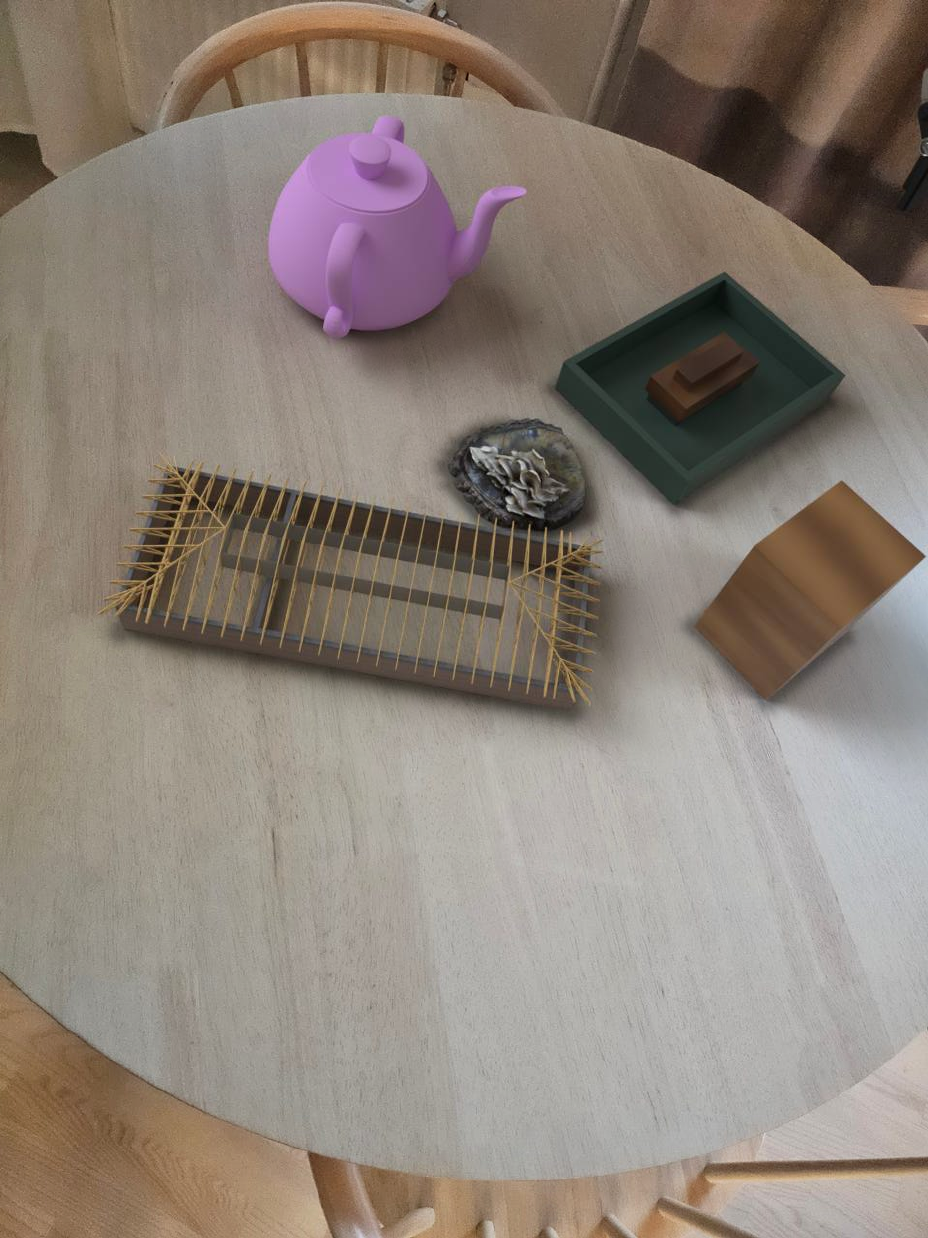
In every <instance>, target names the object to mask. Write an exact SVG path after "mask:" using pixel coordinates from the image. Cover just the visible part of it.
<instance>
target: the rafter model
mask: <svg viewBox="0 0 928 1238" xmlns="http://www.w3.org/2000/svg"><path fill="white" fill-rule="evenodd" d="M158 455H159V457H160V459H162V461H163V462H164V464H165V465H166V467H164V466H161V465H158V464H156V463H153V467H155V468H157V469H158V470H160V471H161V472H163V476H162V478H148V479H147V481H148V482H149V483H152V484H158V485H159V487H158V489H157V492H156V494H143V495H141V497H142V499H147V500H152V501H153V503H152V506H151V507H150V511H147V510H145V511H135V515H138V516H145V517H147V519H146V521H145V524H144V527H136V528H135V527H130V528H129V531H130V532H133V533H139V534H141V535H140V539H139V541H138V543H137V544H133V545H131V544H128V545H127V544H126V545H122V547H123V549H128V550H132V551H134V553H133V557H132V559H131V561H130V562H116V566H119V567H125V568H128V570H127V572H126V576H125V578H124V580H109V583H110V584H113V585H119V586H121V588H120V592H118V593H115V594H112V595H110V596H107V597H104V598H102V600H103V602H107V601H108V602H109V601H112V600H115V601H113V602H111V603H110V604H109V605H107V606H106V607H104V608H103V609H102V610H100V611H98V612H97V615H98V616H100V615H102V614H104V613H107V612H108V611H110V610H112V609H114V608H115V610H116V613H115V614H114V615H113V618H114V619H117V617H118V618H119V621H120V624H121V626H122V629H124V630H129V631H134V632H140V633H145V634H151V635H156V636H160V637H161V636H162V637H167V638H171V639H172V638H173V639H177V640H183V641H189V642H195V643H199V644H206V645H210V646H216V647H222V648H227V649H232V650H237V651H243V652H248V653H254V654H258V655H259V654H260V655H266V656H271V657H275V658H282V659H285V660H286V659H287V660H292V661H297V662H303V663H307V664H313V665H319V666H325V667H330V668H335V669H341V670H346V671H353V672H358V673H363V674H369V675H373V676H379V677H384V678H390V679H394V680H395V679H396V680H401V681H406V682H412V683H417V684H423V685H428V686H434V687H438V688H445V689H450V690H456V691H461V692H467V693H471V694H477V695H482V696H487V697H488V696H489V697H494V698H498V699H504V700H508V701H509V700H510V701H515V702H521V703H527V704H532V705H535V706H536V705H537V706H542V707H548V708H552V709H558V710H565V711H570V709H571V707H572V705H573V704H575V703H576V699H577V697H578V695H580V696H581V697H582V699H583V700H584V701H585V702H586V704H588V706H590V707H591V705H592V703H591V702H590V700H589V698H588V697H587V696H586V694H585V693H584V691H583V690H582V688H581V687H583V688H584V689H586V690H588V691H590V692H592V691H593V688H592V687H590V686H589V685H588V684H587V683H586V682H585V681H584V680H582V678H581V675H582V674H581V673H582V672H586V673H589V674H590V673H591V674H593V673H594V672H595V671H594V670H592V669H590V668H588V667H585V666H583V665H582V661H583V653H584V654H589V655H593V656H594V655H596V652H595V651H592V650H590V649H587V648H585V647H584V640H585V639H584V638H585V636H589V637H595V638H596V637H597V633H593V632H591V631H588V630H586V629H585V627H586V618H589V619H592V620H593V619H594V620H598V618H599V617H598V616H596V615H595V614H591V613H589V612H587V605H588V604H587V603H588V601H591V602H596V603H599V602H600V599H598V598H596V597H593V596H591V595H589V594H588V593H589V592H588V591H589V590H588V589H589V584H591V585H595V586H596V585H597V586H600V585H601V582H599V581H596V580H595V579H592V578H590V569H591V568H594V569H602V568H603V566H601V565H599V564H597V563H595V562H592V561H591V557H592V556H593V555H597V554H603V552H604V550H602V549H601V550H600V549H599V550H594V549H593V550H592V548H593V547H595V546H597V545H599V544H600V543H602V542H603V541H604V540H605V539H604V538H601V539H599V540H597V541H594V542H592V543H590V544H588V545H585V544H586V543H587V541H588V540H589V539H590V535H588V536H587V537H586V539H585V540H584V541H583V542H582V543H581V544H576V543H572V531H570V532H569V536H568V541H567V542H566V541H564V530H563V529H561V530H560V534H559V540H555V539H551V538H547V533H548V531H547V527H546V528H545V532H544V537H540V536H535V535H531V530H530V524H529V529H528V530H527V534H525V533H521V532H520V533H519V532H514V529H515V528H514V521H513V524H512V528H511V531H509V530H504V529H499V528H497V525H496V522H497V518H496V520H495V524H494V527H490V526H483V525H479V524H480V517H481V515H480V514H479V513H478V516H477V522H476V524H473V523H469V522H462V517H463V510H461V511H460V516H459V517H460V518H459V520H458V521H457V520H452V519H447V518H444V517H445V513H446V512H445V511H446V507H444V508H443V512H442V513H443V514H442V517H437V516H433V515H427V511H428V506H429V504H428V503H427V504H426V507H425V512H424V514H422V513H416V512H411V511H410V506H411V500H409V502H408V507H407V511H406V510H402V509H397V508H392V506H393V502H394V497H391V501H390V505H389V507H385V506H381V505H375V500H376V496H377V494H376V493H374V496H373V499H372V504H370V503H364V502H359V501H357V499H358V495H359V490H357V491H356V495H355V497H354V500H349V499H344V498H340V495H341V491H342V487H341V486H340V487H339V489H338V492H337V495H336V497H334V496H329V495H323V494H322V492H323V488H324V483H322V485H321V487H320V490H319V493H313V492H307V491H304V490H305V487H306V484H307V480H304V481H303V484H302V487H301V490H297V489H293V488H287V485H288V482H289V477H288V476H287V477H286V479H285V482H284V484H283V486H282V487H281V486H278V485H271V484H270V479H271V477H272V474H271V473H269V475H268V477H267V479H266V481H265V483H261V482H256V481H252V477H253V474H254V470H251V472H250V473H249V476H248V478H247V480H245V479H240V478H235V475H236V471H237V466H235V467H234V469H233V470H232V472H231V475H230V476H225V475H221V474H220V475H219V474H218V472H219V469H220V463H218V464H217V465H216V467H215V469H214V471H213V473H209V472H206V471H205V472H204V471H202V468H203V465H204V462H205V461H204V460H201V461H200V462H199V464H198V466H197V468H196V469H195V470H194V469H192V468H193V465H194V463H195V459H194V458H192V460H191V462H190V463H189V465H188V467H187V468H184V467H179V466H177V462H176V457H175V454H174V455H173V460H174V464H175V466H173V465H172V464H170V462H169V461H168V460H167V459H166V458H165V457H164V455H162V453H161V452H160V451H159V452H158ZM177 497H178V498H179V497H181V498H182V501H179V500H176V498H177ZM192 499H196V500H198V501H199V502H198V505H197V508H196V510H188V509H189V506H190V503H191V500H192ZM208 502H211V503H216V504H215V507H214V509H213V511H212V510H211V509H210V508H209V507H208V505H207V504H208ZM173 505H179V506H180V508H179V510H172V508H173ZM225 505H227V506H232V507H233V509H232V512H231V513H230V516H229V518H228V520H227V522H226V524H225V525H224V524H223V522H222V521H221V517H222V515H223V512H224V509H225ZM217 508H218V514H217V512H216V510H217ZM243 509H247V510H251V511H252V513H251V515H244V514H241V513H242V510H243ZM235 511H236V513H235ZM261 512H263V513H267V514H268V513H269V514H271V515H270V518H269V519H266V518H262V517H261V518H260V514H261ZM194 513H195V514H194ZM205 513H210V514H211V516H210V517H211V518H210V520H209V524H208V526H201V527H200V525H201V522H202V519H203V517H204V516H203V515H204V514H205ZM170 514H175V515H176V518H174V517H171V516H170ZM187 514H194V517H193V520H192V523H191V526H190V527H182V526H183V524H184V521H185V517H186V515H187ZM279 516H283V520H282V522H281V521H277V520H278V517H279ZM196 519H197V520H198V522H197V523H196V524H195V522H196ZM213 520H215V525H214V526H211V525H212V523H213ZM298 520H299V521H300V520H301V521H306V522H308V523H307V525H306V526H302V525H297V521H298ZM167 521H171V522H174V525H173V527H165V526H166V523H167ZM315 523H316V524H321V525H326V528H325V530H323V529H318V528H314V524H315ZM194 524H195V525H194ZM219 524H220V525H221V526H219ZM332 527H337V528H342V529H345V531H344V533H339V532H334V531H331V530H332ZM199 530H206V533H205V536H204V539H203V541H202V542H201V543H199V544H194V543H195V541H196V537H197V534H198V531H199ZM212 530H214V531H213V534H212V535H209V533H210V531H212ZM236 530H239V531H243V534H242V538H241V539H242V540H241V543H240V549H239V553H238V555H237V554H232V553H229V552H230V548H231V546H232V542H233V538H234V536H235V533H236V532H235V531H236ZM350 530H352V531H357V532H363V535H362V537H359V536H354V535H349V534H350ZM164 531H170V535H169V534H166V533H164ZM180 531H188V533H187V534H188V535H187V537H186V540H185V543H184V544H176V543H177V541H178V538H179V535H180ZM192 531H195V533H194V536H193V539H192V541H191V537H192ZM248 532H250V533H251V535H250V539H249V542H248V545H247V549H246V551H245V552H246V553H245V555H244V556H242V552H243V548H244V545H245V542H246V540H247V539H246V538H247V535H248ZM220 533H223V535H222V539H221V544H220V548H219V552H218V556H217V561H216V567H215V570H214V574H213V579H212V583H211V587H210V592H209V598H208V600H207V601H208V602H207V605H206V610H205V615H204V618H203V617H196V616H191V615H190V614H191V612H192V611H191V610H192V608H193V605H194V602H195V598H196V595H197V593H198V589H199V585H200V583H201V580H202V578H203V577H202V576H203V573H204V570H205V568H206V565H207V561H208V558H209V556H210V552H211V549H212V547H213V546H212V545H213V543H214V540H215V537H216V536H218V535H220ZM254 533H256V534H260V535H262V539H261V543H260V549H259V553H258V558H253V557H248V554H249V550H250V547H251V543H252V540H253V536H254ZM368 534H373V535H378V536H382V537H381V540H375V539H371V538H367V535H368ZM267 536H270V537H269V540H268V542H267V547H266V550H265V554H264V556H263V557H264V558H263V560H262V559H261V557H262V553H263V550H264V549H263V548H264V546H265V542H266V539H267ZM272 537H276V538H277V541H276V544H275V549H274V552H273V555H272V559H271V561H268V560H266V558H267V556H268V555H267V554H268V551H269V548H270V544H271V542H272ZM386 537H389V538H394V539H400V542H399V544H397V543H391V542H386V541H385V538H386ZM161 538H164V539H165V538H166V539H168V543H167V544H159V543H160V542H161ZM210 540H211V541H210ZM403 540H404V541H408V542H409V541H410V542H414V543H418V547H414V546H413V547H412V546H407V545H402V544H403ZM209 541H210V545H209V547H208V543H209ZM292 541H298V542H301V543H300V548H299V553H298V557H297V561H296V566H295V565H290V564H286V560H287V558H288V557H287V556H288V553H289V550H290V546H291V542H292ZM305 543H306V544H305ZM309 544H313V545H317V546H320V547H319V550H318V551H319V552H318V557H317V562H316V567H315V569H311V568H306V567H303V565H304V562H305V558H306V557H305V556H306V554H307V549H308V547H309V546H308V545H309ZM421 544H426V545H431V546H436V551H433V550H428V549H424V548H423V549H422V548H421ZM304 545H305V549H304V552H303V548H304ZM204 547H205V552H204ZM323 547H324V549H323ZM327 547H329V548H334V549H339V551H338V556H337V559H336V560H337V561H336V566H335V570H334V573H332V572H327V571H322V566H323V561H324V558H325V553H326V551H327ZM158 548H164V552H163V551H160V550H157V549H158ZM175 548H183V549H182V552H181V555H180V557H179V558H177V559H175V560H174V561H172V562H170V560H171V558H172V555H173V553H174V549H175ZM186 548H187V550H186ZM199 548H200V551H199V556H198V561H197V565H196V569H195V573H194V578H193V581H192V587H191V590H190V595H189V600H188V603H187V604H188V605H187V608H186V612H185V614H181V613H175V612H172V609H173V607H174V603H175V600H176V597H177V595H178V591H179V588H180V585H181V582H182V579H183V577H184V573H185V570H186V568H187V564H188V561H189V558H190V555H191V553H193V552H194V551H196V550H197V549H199ZM439 548H445V549H452V550H454V553H453V554H448V553H443V552H439ZM322 551H323V553H322ZM345 551H350V552H355V553H357V558H356V564H355V568H354V574H353V576H348V575H343V574H340V572H341V571H340V570H341V566H342V562H343V559H344V554H345ZM457 551H461V552H468V553H472V555H471V558H470V557H464V556H459V555H457ZM302 552H303V553H302ZM302 554H303V556H302ZM363 554H365V555H371V556H376V562H375V567H374V573H373V577H372V580H369V579H364V578H358V575H359V572H360V568H361V567H360V566H361V562H362V559H363ZM476 554H477V555H482V556H488V557H489V561H485V560H480V559H475V556H476ZM155 555H159V556H163V557H162V559H161V561H160V562H153V561H154V557H155ZM321 556H322V557H321ZM301 557H303V558H302V560H301V564H300V559H301ZM201 558H202V565H201V566H200V562H201ZM381 558H387V559H392V560H395V565H394V571H393V577H392V581H391V584H390V583H386V582H380V581H376V580H377V575H378V571H379V565H380V561H381ZM494 558H498V559H504V560H507V562H506V564H502V563H495V562H494ZM183 559H185V560H184V561H182V560H183ZM320 560H321V561H320ZM399 561H402V562H407V563H413V564H414V568H413V574H412V578H411V584H410V587H406V586H401V585H395V580H396V576H397V571H398V570H397V569H398V566H399ZM513 561H515V562H519V563H523V570H522V574H521V575H520V576H518V577H516V578H514V579H511V571H512V562H513ZM176 563H177V564H178V565H177V567H176V573H175V576H174V581H173V583H172V589H171V593H170V598H169V602H168V605H167V610H166V611H164V610H160V609H154V607H155V604H156V601H157V599H158V595H159V593H160V590H161V586H162V583H163V581H164V578H165V575H166V573H167V569H169V568H171V567H172V566H173V565H175V564H176ZM219 563H220V569H219V570H218V566H219ZM299 564H300V566H299ZM319 564H320V565H319ZM418 564H419V565H422V566H427V567H428V566H429V567H432V574H431V579H430V584H429V589H428V591H427V590H422V589H416V588H413V583H414V579H415V574H416V569H417V565H418ZM529 564H531V565H535V566H540V567H538V568H535V569H533V570H531V571H529ZM182 565H183V567H182V569H183V570H182V569H181V566H182ZM151 566H158V569H156V568H153V567H151ZM199 566H200V567H199ZM318 568H319V569H318ZM436 568H438V569H444V570H449V571H450V576H449V581H448V582H449V583H448V587H447V593H446V594H443V593H438V592H432V585H433V580H434V575H435V569H436ZM546 568H550V569H555V570H556V571H555V572H556V573H555V580H552V579H550V578H548V577H545V573H546ZM224 569H230V570H235V571H234V576H233V580H232V584H231V589H230V594H229V598H228V603H227V607H226V612H225V617H224V621H218V620H212V619H208V618H209V615H210V613H211V609H212V606H213V603H214V599H215V596H216V593H217V590H218V586H219V583H220V580H221V577H222V573H223V570H224ZM238 571H239V572H238ZM537 571H539V574H538V573H536V572H537ZM564 571H566V572H567V573H568V572H569V573H570V574H572V575H562V574H563V572H564ZM149 572H151V573H154V574H153V575H152V576H150V577H148V574H149ZM243 572H245V573H252V574H254V577H253V580H252V585H251V590H250V594H249V599H248V603H247V609H246V613H245V618H244V622H243V625H239V624H234V623H229V622H228V620H229V616H230V613H231V610H232V608H233V603H234V600H235V597H236V593H237V591H238V590H237V589H238V587H239V584H240V580H241V577H242V573H243ZM455 572H460V573H465V574H468V579H467V585H466V591H465V597H459V596H453V595H450V594H451V589H452V583H453V579H454V578H453V576H454V573H455ZM178 573H179V574H178ZM199 573H200V575H199ZM237 573H238V574H237ZM178 575H180V576H179V578H178ZM198 575H199V578H198ZM257 575H258V576H257ZM473 575H476V576H481V577H486V580H485V581H486V582H485V589H484V594H483V601H480V600H475V599H469V595H470V590H471V585H472V579H473ZM528 575H532V576H535V577H538V578H539V579H538V580H539V581H538V588H537V591H535V590H533V589H530V588H528V587H527V583H528V582H527V581H528ZM256 576H257V577H256ZM261 576H266V581H265V584H264V586H263V587H264V588H263V591H262V594H261V599H260V600H259V601H260V602H259V605H258V609H257V612H256V616H255V619H254V623H253V626H252V627H251V626H248V621H249V617H250V614H251V610H252V607H253V603H254V600H255V598H256V597H255V596H256V593H257V590H258V586H259V583H260V579H261ZM147 577H148V578H147ZM217 577H218V579H216V578H217ZM177 578H178V580H177ZM153 579H154V583H153V584H150V585H147V583H148V582H150V581H152V580H153ZM281 579H283V580H287V581H292V586H291V589H290V591H291V592H290V595H289V599H288V605H287V609H286V610H287V611H286V615H285V619H284V623H283V627H282V631H279V630H278V631H277V630H273V629H268V626H269V623H270V619H271V615H272V612H273V608H274V604H275V601H276V597H277V594H278V589H279V586H280V582H281ZM492 579H496V580H501V581H504V583H503V591H502V599H501V604H496V603H491V602H488V598H489V594H490V593H489V592H490V587H491V581H492ZM520 579H521V584H517V583H515V582H516V581H518V580H520ZM561 579H564V580H570V581H574V587H573V588H572V587H569V586H568V585H565V584H562V583H561ZM544 581H547V582H549V583H552V584H554V590H553V598H552V597H549V596H547V595H544V594H543V591H544ZM176 582H177V584H176ZM299 583H304V584H309V585H311V590H310V595H309V599H308V604H307V610H306V614H305V620H304V624H303V628H302V632H301V633H302V634H301V635H299V634H296V633H295V634H294V633H289V632H286V629H287V626H288V623H289V618H290V614H291V610H292V606H293V603H294V599H295V595H296V591H297V587H298V584H299ZM195 584H196V586H195ZM317 586H320V587H326V588H329V589H331V590H330V595H329V598H328V599H329V600H328V605H327V609H326V615H325V619H324V625H323V629H322V634H321V639H320V638H316V637H311V636H305V634H306V629H307V625H308V622H309V618H310V614H311V609H312V606H313V602H314V599H315V594H316V590H317ZM514 586H515V587H517V588H520V594H519V593H518V591H517V590H516V588H515V587H514ZM509 588H511V589H512V590H513V592H514V593H515V595H516V597H517V598H518V599H519V602H518V611H517V619H516V626H515V632H514V633H515V635H514V642H513V648H512V649H513V651H512V659H511V665H510V666H511V667H510V672H509V673H510V674H509V673H505V672H504V673H503V672H500V671H495V670H496V665H497V664H496V663H497V659H498V653H499V646H500V641H501V634H502V628H503V625H504V624H503V623H504V618H505V612H506V605H507V602H508V601H507V599H508V594H509ZM562 588H564V589H565V590H566V589H567V590H568V591H571V592H566V591H565V592H560V591H561V589H562ZM151 589H152V590H151ZM150 590H151V596H150V600H149V604H148V607H144V604H145V601H146V599H147V596H148V593H149V591H150ZM336 590H341V591H346V592H350V594H349V599H348V602H347V603H348V604H347V609H346V614H345V618H344V623H343V629H342V635H341V639H340V642H337V641H332V640H326V639H324V638H325V634H326V629H327V625H328V621H329V618H330V617H329V616H330V612H331V608H332V604H333V600H334V595H335V592H336ZM526 591H527V592H530V593H532V594H534V595H537V596H536V597H537V598H536V606H535V609H533V608H531V607H528V606H527V605H526V603H525V599H526ZM354 593H357V594H361V595H362V594H363V595H366V596H367V595H368V596H369V598H368V602H367V608H366V612H365V613H366V614H365V618H364V622H363V623H364V624H363V628H362V633H361V638H360V642H359V645H353V644H348V643H343V641H344V637H345V633H346V628H347V624H348V619H349V615H350V612H351V611H350V610H351V606H352V602H353V596H354ZM373 596H374V597H378V598H384V599H388V602H387V607H386V611H385V617H384V621H383V628H382V632H381V638H380V643H379V648H378V649H375V648H371V647H370V648H369V647H365V646H363V640H364V635H365V631H366V626H367V622H368V617H369V613H370V608H371V603H372V598H373ZM559 596H563V597H564V596H565V597H570V598H572V605H569V604H566V603H564V602H562V601H559ZM543 598H545V599H547V600H550V601H552V610H551V615H548V614H546V613H543V612H541V609H542V599H543ZM139 599H140V601H139ZM391 600H394V601H400V602H405V603H407V605H406V610H405V615H404V621H403V626H402V630H401V636H400V641H399V647H398V653H397V652H391V651H386V650H381V649H382V643H383V638H384V634H385V630H386V625H387V620H388V614H389V611H390V610H389V609H390V605H391ZM138 603H139V604H138ZM409 604H415V605H420V606H426V607H425V612H424V617H423V622H422V628H421V635H420V639H419V646H418V649H417V650H418V651H417V655H416V656H413V655H408V654H402V653H400V651H401V647H402V641H403V638H404V637H403V636H404V631H405V626H406V622H407V621H406V620H407V616H408V615H407V614H408V611H409ZM560 605H562V606H565V607H567V608H568V609H559V608H560ZM429 607H432V608H436V609H441V610H444V611H443V617H442V623H441V629H440V635H439V641H438V646H437V652H436V659H435V660H434V659H429V658H423V657H419V656H420V651H421V645H422V639H423V636H424V635H423V634H424V628H425V624H426V618H427V613H428V609H429ZM524 609H525V610H526V612H527V613H528V615H529V616H530V618H531V619H532V620H533V622H534V623H533V632H532V640H531V650H530V656H529V657H530V658H529V666H528V675H527V677H526V676H520V675H515V674H514V668H515V661H516V656H517V650H518V644H519V637H520V631H521V625H522V620H523V615H524ZM447 611H454V612H457V613H462V617H461V623H460V630H459V635H458V642H457V648H456V655H455V661H454V663H451V662H446V661H439V660H438V659H439V654H440V649H441V643H442V638H443V632H444V627H445V621H446V615H447ZM532 612H533V613H535V615H534V616H533V613H532ZM558 613H562V614H567V615H571V618H570V623H568V622H566V621H564V620H561V619H558V618H557V615H558ZM466 614H468V615H474V616H479V617H480V622H479V629H478V636H477V643H476V650H475V656H474V664H473V667H472V666H466V665H462V664H457V663H458V658H459V651H460V646H461V640H462V636H463V630H464V624H465V618H466ZM541 616H543V617H546V618H548V619H551V621H550V630H549V633H546V632H544V631H543V628H542V627H541V626H540V617H541ZM485 618H490V619H495V620H499V621H498V628H497V633H496V635H497V636H496V643H495V648H494V649H495V651H494V656H493V657H494V658H493V664H492V670H489V669H483V668H477V660H478V655H479V649H480V643H481V639H482V632H483V627H484V621H485ZM559 623H561V624H564V625H566V626H557V625H558V624H559ZM556 630H557V631H562V632H567V633H569V640H568V641H567V640H564V639H562V638H559V637H557V636H555V635H556ZM539 631H540V633H541V635H543V637H544V638H545V640H546V641H547V644H548V648H547V649H548V650H547V656H546V657H547V659H546V667H545V677H544V679H545V680H543V679H537V678H532V677H531V676H532V671H533V665H534V658H535V652H536V648H537V647H536V646H537V639H538V634H539ZM557 641H559V642H561V643H563V644H555V643H556V642H557ZM556 648H557V649H563V650H567V652H568V653H567V659H564V658H561V656H560V655H559V653H558V651H557V650H556ZM555 655H556V656H557V658H558V660H559V662H558V661H557V660H556V659H555V658H554V656H555ZM552 662H553V664H554V665H555V666H556V667H555V677H554V682H553V681H549V680H550V673H551V667H552ZM560 672H561V674H562V675H563V678H564V682H565V683H559V682H558V681H559V675H560Z"/></svg>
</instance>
